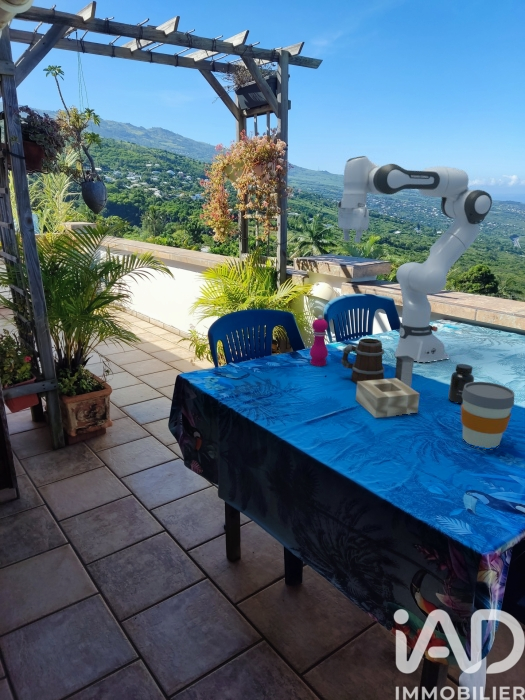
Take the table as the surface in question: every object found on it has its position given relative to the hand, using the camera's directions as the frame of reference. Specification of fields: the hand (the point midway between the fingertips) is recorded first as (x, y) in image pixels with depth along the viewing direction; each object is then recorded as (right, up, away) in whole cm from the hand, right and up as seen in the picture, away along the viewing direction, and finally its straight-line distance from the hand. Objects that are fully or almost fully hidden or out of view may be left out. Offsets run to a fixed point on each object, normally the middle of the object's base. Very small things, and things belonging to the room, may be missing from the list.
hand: (351, 241), depth 178 cm
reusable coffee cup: (+25, -66, -51) cm, 87 cm away
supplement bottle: (+31, -58, -24) cm, 70 cm away
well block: (+5, -59, -29) cm, 66 cm away
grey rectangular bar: (+14, -55, -16) cm, 59 cm away
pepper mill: (-11, -47, +11) cm, 50 cm away
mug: (+2, -52, -6) cm, 53 cm away
